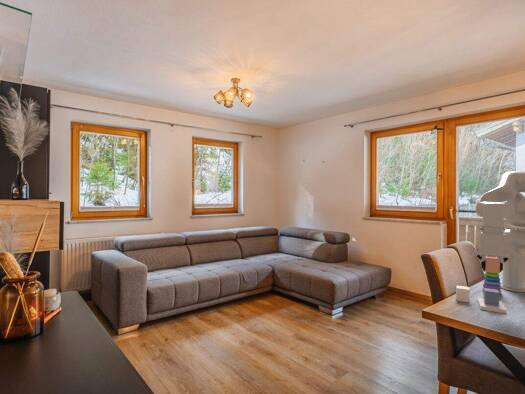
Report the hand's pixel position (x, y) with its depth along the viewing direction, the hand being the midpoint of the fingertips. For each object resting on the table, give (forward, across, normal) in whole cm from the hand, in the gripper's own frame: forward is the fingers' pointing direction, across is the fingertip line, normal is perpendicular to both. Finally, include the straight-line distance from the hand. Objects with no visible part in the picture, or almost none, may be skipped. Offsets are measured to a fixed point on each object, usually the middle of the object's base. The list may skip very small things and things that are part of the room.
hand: (491, 270), depth 138 cm
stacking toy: (+17, +4, +25) cm, 30 cm away
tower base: (+17, 0, 0) cm, 17 cm away
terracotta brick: (+1, 0, 0) cm, 1 cm away
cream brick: (+17, -10, +4) cm, 20 cm away
